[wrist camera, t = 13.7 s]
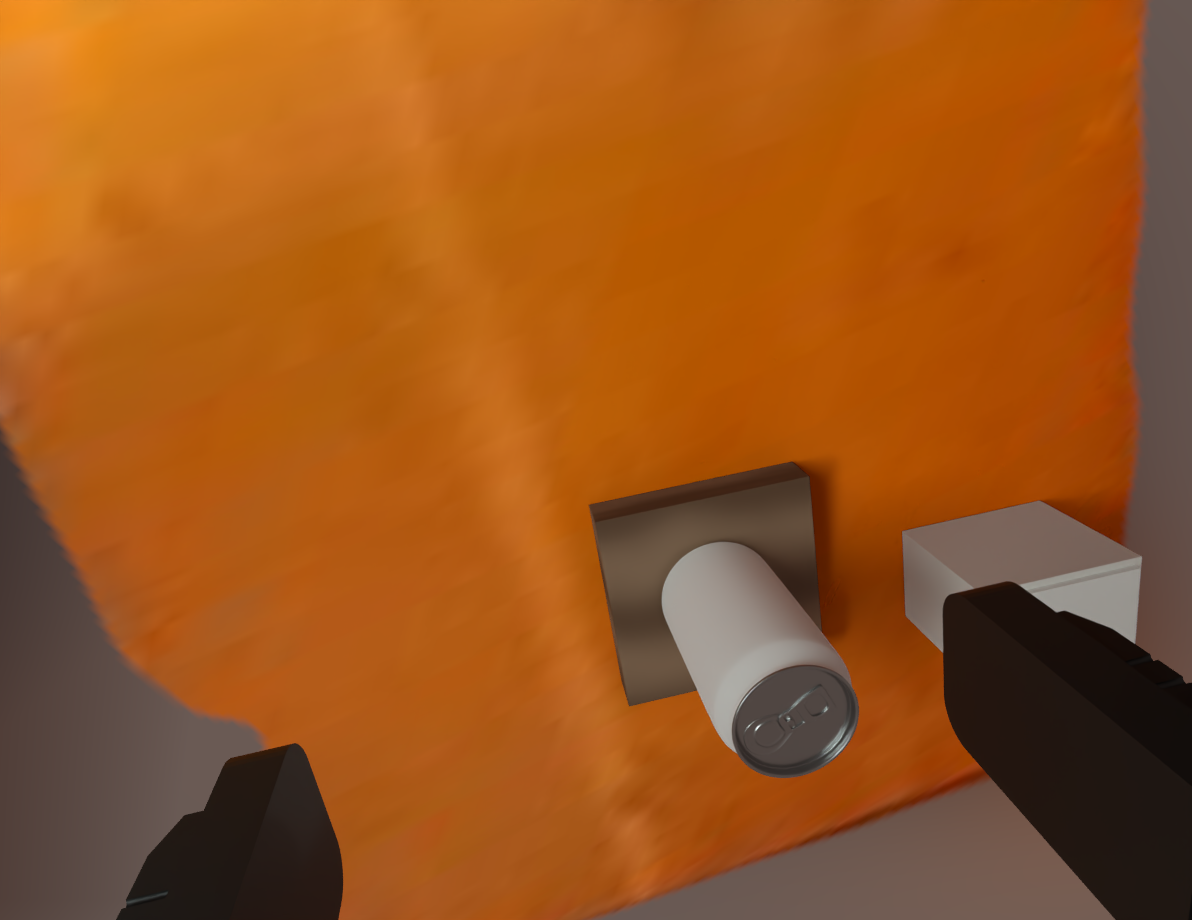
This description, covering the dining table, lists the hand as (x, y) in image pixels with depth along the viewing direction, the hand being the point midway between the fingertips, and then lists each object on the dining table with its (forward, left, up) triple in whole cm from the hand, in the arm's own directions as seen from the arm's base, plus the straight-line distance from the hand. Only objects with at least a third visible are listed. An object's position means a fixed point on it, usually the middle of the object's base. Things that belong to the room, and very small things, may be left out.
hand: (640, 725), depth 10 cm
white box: (+20, +25, -33) cm, 46 cm away
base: (+17, +8, -33) cm, 38 cm away
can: (+17, +8, -31) cm, 36 cm away
